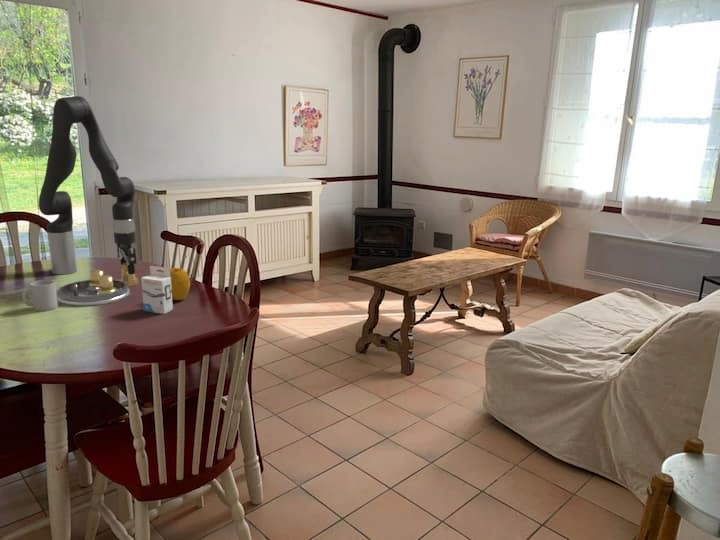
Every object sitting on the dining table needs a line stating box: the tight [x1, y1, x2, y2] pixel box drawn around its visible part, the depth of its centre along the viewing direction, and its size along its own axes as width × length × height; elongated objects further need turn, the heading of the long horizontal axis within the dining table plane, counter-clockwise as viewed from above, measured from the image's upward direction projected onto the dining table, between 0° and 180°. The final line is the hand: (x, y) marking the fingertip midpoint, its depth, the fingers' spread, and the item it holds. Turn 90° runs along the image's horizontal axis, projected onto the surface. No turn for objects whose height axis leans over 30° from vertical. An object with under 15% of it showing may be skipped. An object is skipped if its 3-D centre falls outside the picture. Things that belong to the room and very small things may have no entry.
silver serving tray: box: [57, 269, 131, 307], centre depth 197 cm, size 24×24×8 cm
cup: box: [21, 279, 59, 312], centre depth 182 cm, size 7×10×9 cm
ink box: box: [140, 265, 174, 315], centre depth 183 cm, size 8×5×15 cm, turn 73°
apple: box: [169, 267, 191, 301], centre depth 196 cm, size 10×10×12 cm
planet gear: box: [118, 263, 140, 287], centre depth 213 cm, size 7×7×8 cm
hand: (128, 271), depth 212 cm, fingers open, 8 cm apart
